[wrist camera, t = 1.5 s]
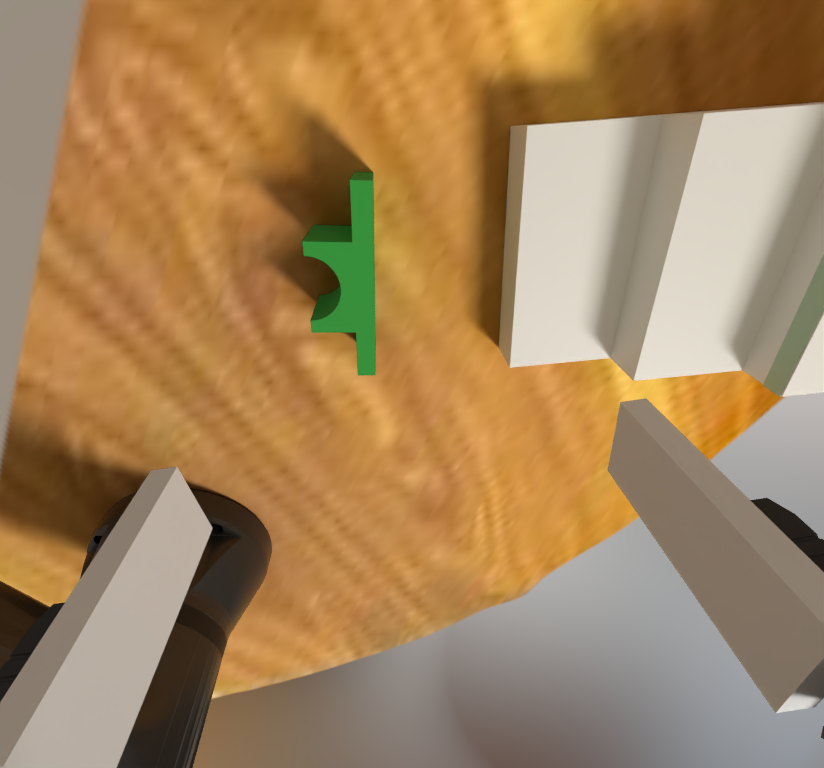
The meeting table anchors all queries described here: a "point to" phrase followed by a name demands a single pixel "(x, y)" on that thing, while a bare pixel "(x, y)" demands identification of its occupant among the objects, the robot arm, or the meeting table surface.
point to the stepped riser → (670, 245)
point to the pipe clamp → (349, 273)
